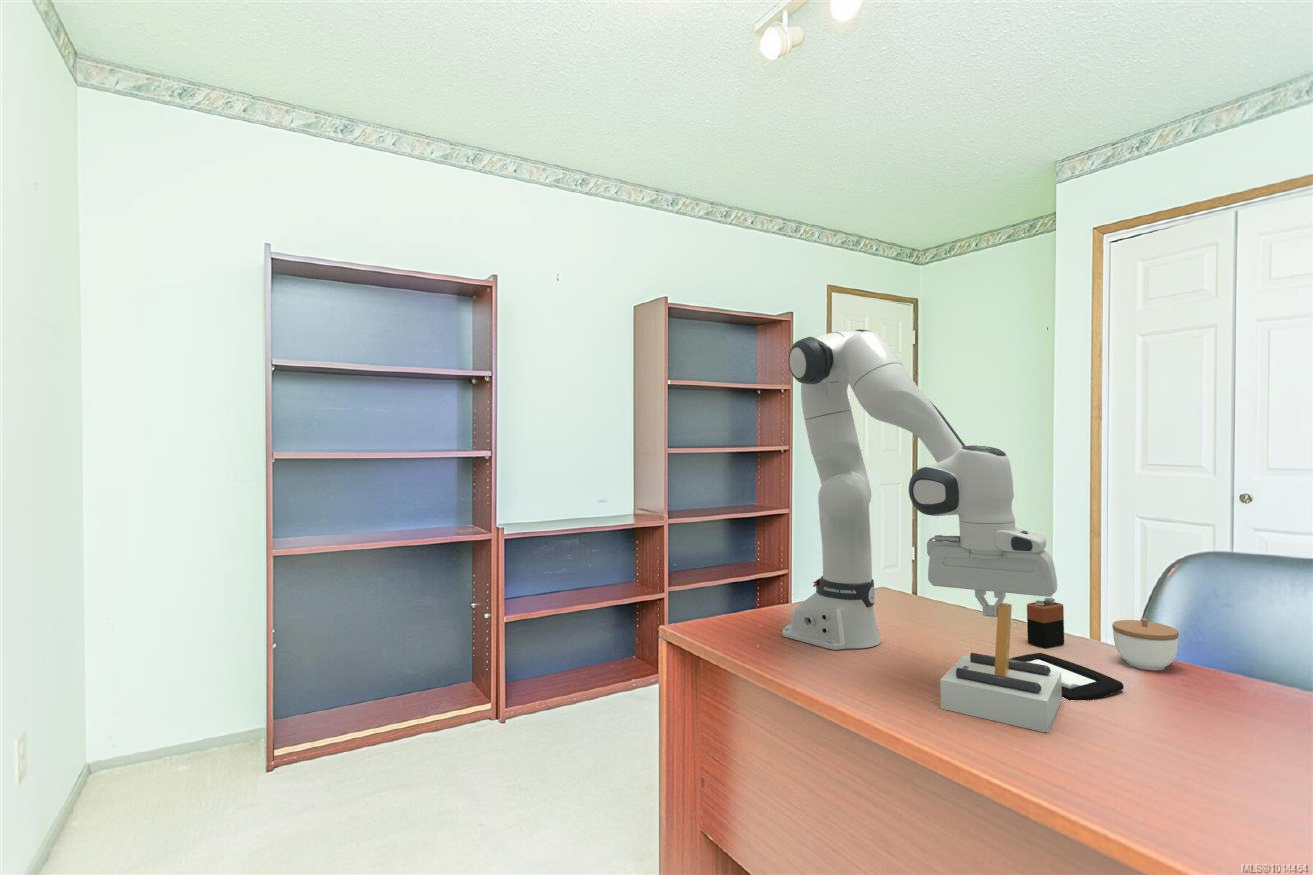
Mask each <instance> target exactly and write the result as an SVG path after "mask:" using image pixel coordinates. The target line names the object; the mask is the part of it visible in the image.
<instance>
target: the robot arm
mask: <svg viewBox="0 0 1313 875" xmlns="http://www.w3.org/2000/svg"><path fill="white" fill-rule="evenodd" d="M788 368H789V370H790V374H791V375H792V377H793V378H794V379H795V380H796V382H799V383H800V388H801V389H800V396H801V397H800V399H801V408H802V414H803V419H804V425H805V428H806V429H805V430H806V434H807V438H808V443H809V447H810V448H809V449H810V452H811V456H812V458H813V461H814V464H815V467H816V472H817V474H818V479H819V480H820V484H821V485H820V488H819V489H818V490H819V491H818V496H817V498H818V500H817V501H818V514H819V525H820V526H819V528H820V536H821V538H820V539H821V548H822V553H821V554H822V575H821V576H820V578H818V579H816V580H815V581H813V582H812V583H813V585H812V588H814V587H815V588H816V590H815V593H813V594H812V595H810V596H808V598H806V599H805V600H803V601H802V602H801V603H799V604H798V605H796V607H795V608H794V611H793V613H792V617H791V623H790V624H787V625H785V627H783V629H782V631H781V636H783V637H785V638H788V639H792V640H795V641H796V640H797V641H798V642H799V641H800V642H803V643H806V644H811V645H814V646H818V647H821V648H825V649H829V650H834V651H835V650H837V651H839V650H845V649H865V648H871V647H875V646H877V645H879V644H881V641H882V640H881V637H880V634H879V630H878V626H877V620H876V614H875V608H874V605H875V601H876V600H875V599H876V589H875V583H874V582H875V581H874V579H873V572H872V571H873V569H872V566H873V564H872V561H873V560H872V539H871V523H870V503H871V500H872V488H871V485H870V482H869V476H868V473H867V468H866V464H865V460H864V458H863V453H862V450H861V447H860V442H859V439H858V435H857V429H856V425H855V420H854V416H853V412H852V406H851V402H850V399H849V395H848V387H849V386H850V387H851V389H852V392H853V393H854V394H853V395H854V396H855V397H856V400H857V401H858V403H859V404H860V406H861V408H863V410H864V412H866V413H867V414H868V415H869V416H870V417H871V418H872V419H874V420H877V421H879V422H883V423H885V424H889V425H893V426H896V427H898V428H901V429H903V430H906V431H908V432H910V433H912V434H913V435H915V436H916V437H917V438H919V440H920V441H921V442H922V443H923V444H924V446H925V447H926V449H927V450H928V452H929V453H930V454H931V456H932V458H933V459H934V460H935V463H932V464H930V465H927V466H926V465H925V466H924V467H920V468H918V469H917V470H916V471H915V472H914V473H913V474H912V475H911V477H910V480H909V482H908V483H909V484H908V496H909V498H910V501H911V503H912V505H913V506H914V507H915V509H916V510H917V511H918V512H919V513H921V514H923V515H927V516H932V517H943V516H954V515H957V516H958V521H959V522H958V524H959V525H958V527H959V535H942V534H935V535H934V536H933V537H931V538H929V539H928V540H927V543H926V552H927V553H926V554H927V556H928V558H929V559H928V568H927V578H928V579H927V580H928V582H929V583H930V585H931V586H933V587H942V588H952V589H962V590H973V591H974V597H975V598H976V600H977V601H978V603H979V604H980V606H981V607H982V616H984V617H991V618H997V616H998V606H999V605H1000V604H1001V603H1004V601H1005V598H1006V597H1007V596H1006V594H1013V595H1014V594H1015V595H1025V596H1035V597H1045V598H1051V597H1052V596H1053V595H1054V594H1056V593H1057V590H1058V581H1057V580H1058V579H1057V573H1056V568H1055V564H1054V560H1053V558H1052V556H1051V555H1050V553H1049V552H1048V551H1046V550H1045V549H1046V547H1047V539H1046V537H1045V536H1044V535H1041V534H1038V533H1035V532H1032V531H1029V530H1025V529H1022V528H1018V526H1017V527H1016V519H1015V515H1014V513H1013V508H1012V505H1013V500H1014V497H1015V495H1014V493H1015V492H1014V481H1013V480H1014V479H1013V474H1012V467H1011V463H1010V459H1009V457H1008V455H1007V453H1006V452H1005V451H1003V450H1001V449H999V448H996V447H992V446H985V445H966V444H965V443H964V442H963V440H962V439H961V437H960V436H959V435H958V433H957V432H956V431H955V429H954V427H953V426H952V425H951V423H949V422H948V420H947V419H946V417H945V416H944V414H942V412H941V411H940V410H939V409H938V407H937V406H936V405H935V404H934V403H933V402H932V401H931V400H930V399H929V398H928V396H926V395H925V394H924V392H923V391H922V390H921V388H919V386H918V385H917V384H916V383H915V381H914V380H913V378H912V377H911V376H910V374H909V372H908V370H907V369H906V368H905V366H904V364H903V362H902V361H901V359H900V358H899V357H898V355H897V354H896V352H895V351H894V350H893V349H892V348H891V346H890V345H889V344H888V342H886V341H885V339H884V338H883V337H882V336H881V335H879V333H877V332H874V331H871V330H867V329H855V330H838V331H832V332H830V333H825V334H820V335H816V336H807V337H803V338H801V339H799V340H797V341H795V342H794V343H793V344H792V346H791V347H790V350H789V353H788ZM987 592H993V596H994V597H993V598H995V599H997V600H996V601H995V603H994V604H989V602H988V600H987V599H986V598H985V596H986V595H987Z"/></svg>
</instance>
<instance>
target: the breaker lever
mask: <svg viewBox="0 0 1313 875" xmlns="http://www.w3.org/2000/svg"><path fill="white" fill-rule="evenodd" d="M1012 606H1013V604H1012V603H1006V602H1002V603H1001V604H1000V605H999V606H998V616H997V617H996V620H997V621H996V638H995V641H996V642H995V654H994V657H995V674H996V675H1000V676H1004V677H1005V676H1006V674H1007V673H1008V666H1009V659H1010V647H1011V646H1010V643H1011V627H1012V626H1011V625H1012V621H1011V620H1012V609H1013V608H1012Z"/></svg>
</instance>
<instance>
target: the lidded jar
mask: <svg viewBox="0 0 1313 875" xmlns="http://www.w3.org/2000/svg"><path fill="white" fill-rule="evenodd" d="M1140 619H1141V620H1136V619H1122V620H1116V621H1113V622H1112V624H1111V625H1112V632H1113V636H1112V637H1113V641H1114V646H1115V649H1116V650H1117V652H1118V655H1120V656H1121V657H1122V658H1123V660H1124V661H1126V664H1127V665H1129V666H1131V667H1133V668H1137V669H1140V670H1147V671H1155V672H1157V671H1163V670H1165V669H1166V667H1169V665H1170V664H1172V663H1173V661H1174V660H1175V659H1176V656H1177V654H1178V648H1179V637H1180V636H1179V631H1178V630H1177V629H1176V628H1174V627H1172V626H1169V625H1167V624H1163V623H1159V622H1155V621H1154V622H1153V621H1148V618H1140Z"/></svg>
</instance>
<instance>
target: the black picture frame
mask: <svg viewBox="0 0 1313 875" xmlns="http://www.w3.org/2000/svg"><path fill="white" fill-rule="evenodd" d="M1009 659H1012V660H1017V661H1023V662H1029V663H1035V664H1041V665H1046V666H1048V667H1049V668H1050V670H1052V671H1058V672H1061V686H1062V697H1064V698H1066V699H1065V700H1067V699H1068V700H1067V701H1070V700H1086V701H1095V700H1099V699H1102V698H1106V697H1109V696H1111V695H1114V694H1117V693H1118V692H1120V691H1122V690H1124V688H1125V685H1124V683H1123V682H1121V681H1120V680H1117V679H1116V678H1113V677H1112V676H1111V677H1110V676H1109V675H1106V674H1104V673H1101V672H1098V671H1097V670H1094V669H1091V668H1089V667H1085V666H1083V665H1081V664H1078V663H1075V662H1071V661H1069V660H1066V659H1062V658H1059V657H1056V656H1054V655H1050V654H1047V653H1043V652H1036V653H1035V652H1034V653H1030V654H1028V653H1027V654H1024V655H1018V656H1015V657H1014V656H1013V657H1011V658H1010V657H1009ZM1064 698H1063V699H1064ZM1093 699H1094V700H1093Z"/></svg>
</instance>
